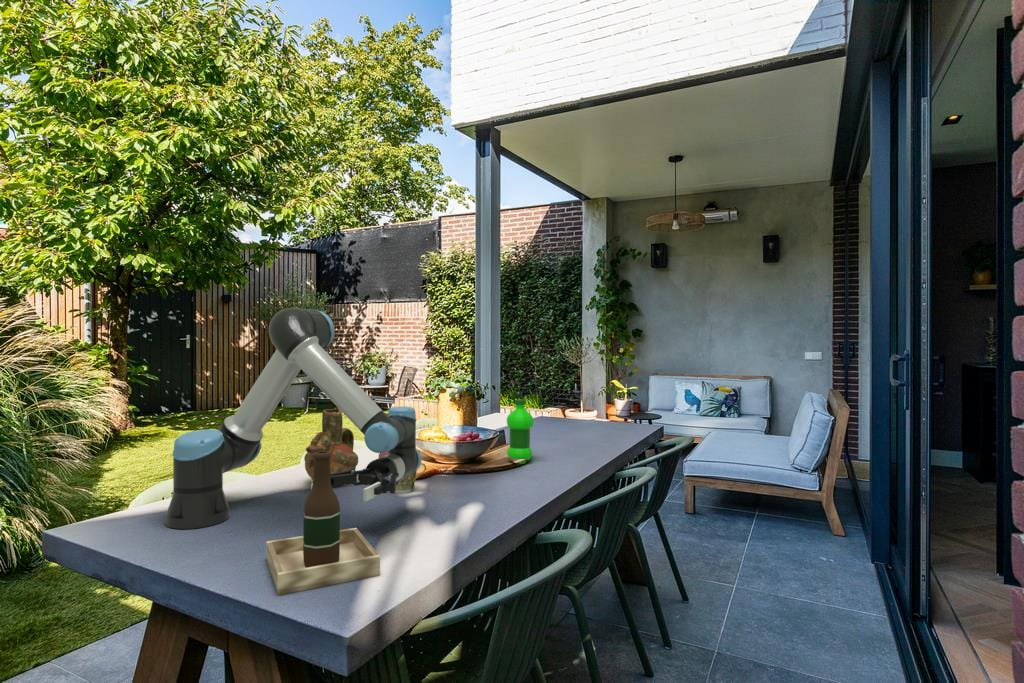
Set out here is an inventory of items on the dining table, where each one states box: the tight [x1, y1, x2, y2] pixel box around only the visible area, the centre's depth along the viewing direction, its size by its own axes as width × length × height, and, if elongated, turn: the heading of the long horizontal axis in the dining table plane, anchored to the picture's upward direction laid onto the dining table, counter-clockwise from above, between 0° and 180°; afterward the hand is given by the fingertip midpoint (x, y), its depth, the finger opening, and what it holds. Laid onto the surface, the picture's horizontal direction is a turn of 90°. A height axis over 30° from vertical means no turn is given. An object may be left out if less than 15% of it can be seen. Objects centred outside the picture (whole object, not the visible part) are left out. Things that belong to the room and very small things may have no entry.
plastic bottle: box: [506, 398, 534, 465], centre depth 227 cm, size 10×10×25 cm
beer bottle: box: [302, 451, 341, 568], centre depth 124 cm, size 8×8×24 cm
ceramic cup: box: [394, 462, 427, 495], centre depth 184 cm, size 13×10×10 cm
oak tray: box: [265, 527, 381, 596], centre depth 124 cm, size 20×20×4 cm
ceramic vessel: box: [303, 408, 359, 480], centre depth 192 cm, size 17×26×25 cm, turn 170°
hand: (338, 492), depth 130 cm, fingers open, 13 cm apart
